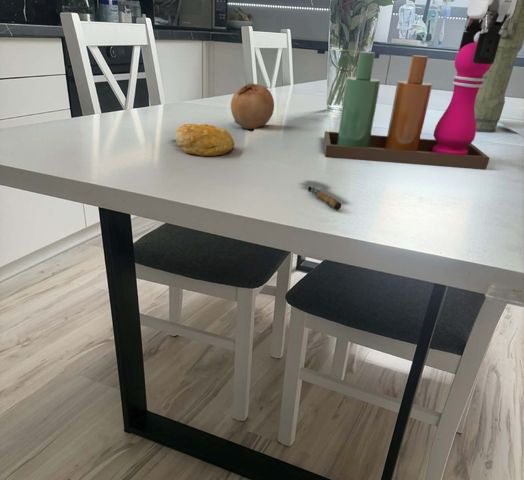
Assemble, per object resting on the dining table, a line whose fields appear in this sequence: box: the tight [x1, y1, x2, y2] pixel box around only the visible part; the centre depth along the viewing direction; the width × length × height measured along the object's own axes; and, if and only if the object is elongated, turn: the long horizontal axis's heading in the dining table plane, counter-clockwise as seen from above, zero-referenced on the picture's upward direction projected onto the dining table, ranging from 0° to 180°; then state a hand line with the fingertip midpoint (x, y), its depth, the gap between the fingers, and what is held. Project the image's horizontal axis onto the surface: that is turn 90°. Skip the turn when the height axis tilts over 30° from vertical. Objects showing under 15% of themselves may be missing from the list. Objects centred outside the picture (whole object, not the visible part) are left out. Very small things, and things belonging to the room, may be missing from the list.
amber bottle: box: [385, 54, 433, 151], centre depth 86 cm, size 6×6×16 cm
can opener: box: [307, 185, 342, 211], centre depth 67 cm, size 9×2×1 cm, turn 16°
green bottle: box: [337, 51, 381, 147], centre depth 87 cm, size 6×6×16 cm
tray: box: [323, 130, 491, 171], centre depth 90 cm, size 29×13×3 cm, turn 85°
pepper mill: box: [432, 31, 492, 155], centre depth 85 cm, size 7×7×20 cm
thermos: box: [474, 0, 524, 133], centre depth 113 cm, size 9×12×35 cm
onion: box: [230, 82, 275, 130], centre depth 104 cm, size 10×9×10 cm
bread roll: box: [174, 123, 235, 157], centre depth 86 cm, size 10×11×5 cm
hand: (474, 61), depth 81 cm, fingers open, 9 cm apart
